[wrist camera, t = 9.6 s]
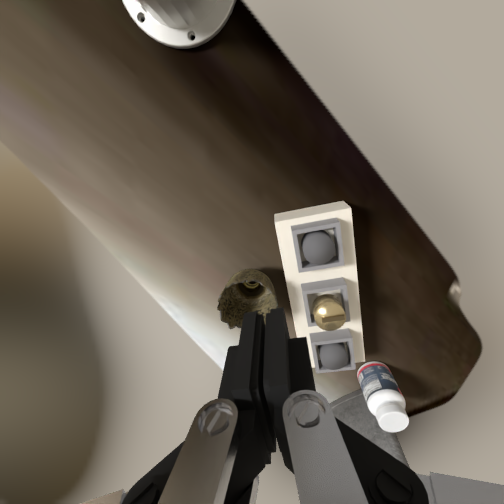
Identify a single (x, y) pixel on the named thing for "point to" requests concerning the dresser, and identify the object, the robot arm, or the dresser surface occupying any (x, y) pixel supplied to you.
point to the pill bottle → (383, 396)
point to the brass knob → (328, 312)
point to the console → (322, 278)
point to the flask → (366, 423)
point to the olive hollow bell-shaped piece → (246, 297)
